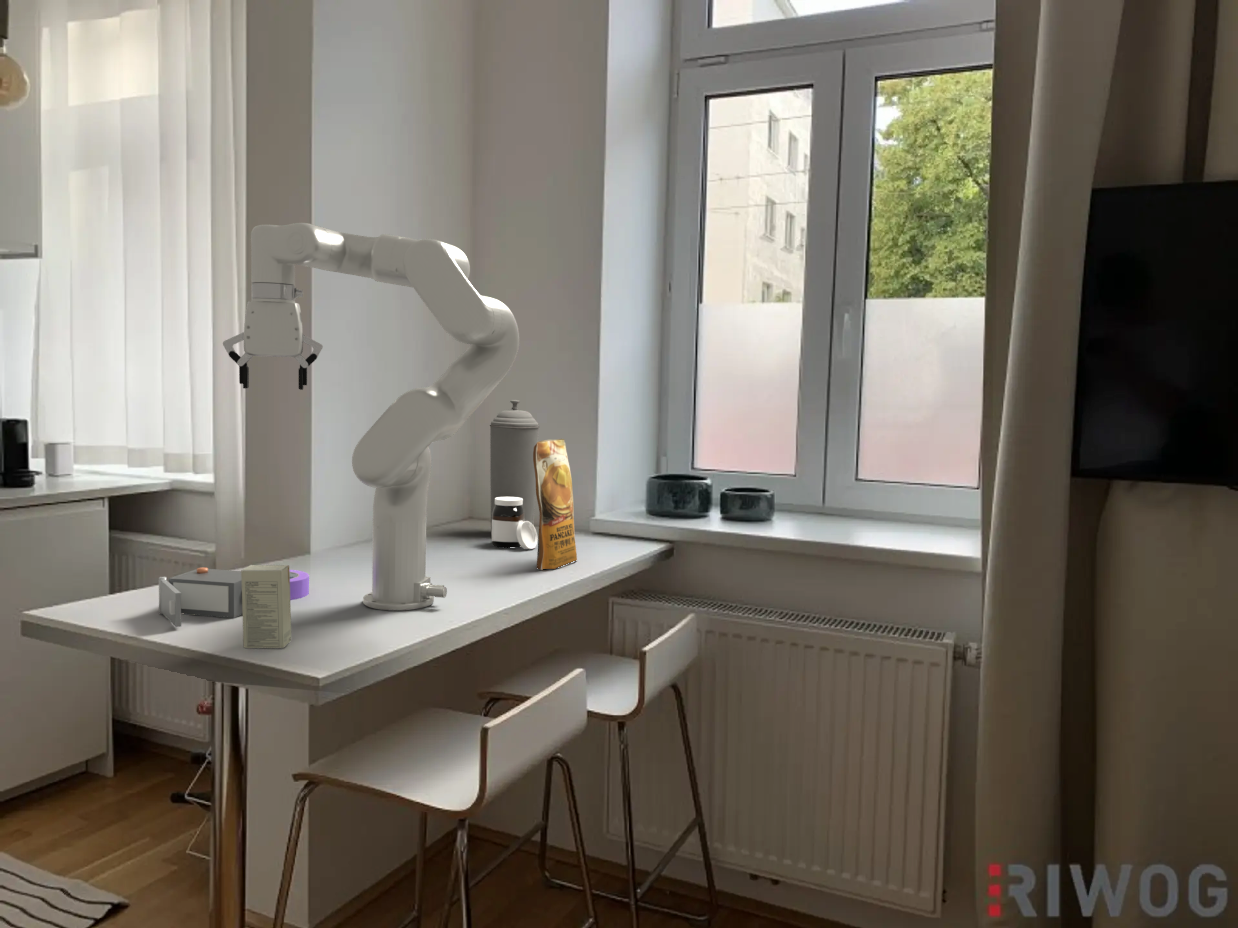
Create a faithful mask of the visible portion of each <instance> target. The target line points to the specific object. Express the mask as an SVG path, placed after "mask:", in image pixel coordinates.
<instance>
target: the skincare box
mask: <svg viewBox="0 0 1238 928" xmlns="http://www.w3.org/2000/svg"><path fill="white" fill-rule="evenodd" d="M290 570H291V569H290V565H289V564H250V565H248V566H246V567H244V568H242V569H240V571H241V580H242V612H243V614H242V636H243V637H242V638H243V639H242V641H243V649H284V648H285V647H286V646H287V645H289V643H291V642H292V617H291V616H292V614H291V610H292V609H291V600H290Z"/></svg>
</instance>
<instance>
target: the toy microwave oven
mask: <svg viewBox="0 0 1238 928" xmlns="http://www.w3.org/2000/svg"><path fill="white" fill-rule="evenodd" d="M168 582H169V583H170V584H171V585H173V586H174V587H175V588H176V589H177V590H178V591H179V592H180V593H181V613H184V614H183V615H188V614H195V615H194V616H200V617H202V616H203V617H213V616H216V617H215V618H229V619H236V618H238V617H240V616H243V612H242V580H241V570H230V569H228V570H227V569H217V568H216V569H215V568H209V567H203V566H202V567H197V568H196V569H192V570H189V571H187V572H184V573H180V574H177V575H174V576H170V577H169V578H168Z"/></svg>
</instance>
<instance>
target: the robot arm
mask: <svg viewBox="0 0 1238 928" xmlns="http://www.w3.org/2000/svg"><path fill="white" fill-rule="evenodd" d="M250 258H251V259H250V265H251V266H250V267H251V268H250V271H251V273H250V274H251V276H250V278H251V281H250V282H251V284H250V285H251V288H250V289H251V290H250V293H251V294H250V295H251V298H250V299H251V300H248V301H247V304H246V307H245V309H246V310H245V316H244V327H243V332H241V333H239V334H237V335H235V336H232V337H230V338H228V339H224V341H223V342H222V346H223V347H224V349H225V350H226V352H227V354H228V357H229V358H230V359H231V360H232V361H234V363H236V364H237V365H238V368H239V370H238V373H239V375H238V377H239V378H238V379H239V380H238V382H239V385H242V388H243V389H249V387H250V368H249V367H250V366H248V362H249V361H250V360H251V359H252V358H253V357H271V358H272V357H273V358H294V359H295V361H297V363H298V364H299V368H298V389H299V390H300V391H301V390H302V391H303V390H304V386H308V367H310V365H312V364H313V363H314V362H315V361H316V360H317V359H318V357H319V355H320V353H321V352H322V350H323V347H324V346H323V344H322V343H319V342H318V341H316V340H314V339H312V338H310V337H309V336H307V335H304V334H303V320H302V319H303V318H302V311H301V306H300V303H297V302H296V300H297V298H304V289H299V288H297V287H296V265H298V266H303V267H307V268H312V269H318V270H322V271H327V272H333V273H340V274H345V275H350V276H357V277H362V278H363V277H364V278H368V279H372V280H373V281H375V282H379V283H384V284H390V285H394V286H395V285H396V286H402V287H406V288H407V287H409V288H413V289H414V291H415V292H416V293H417V295H418V296H419V298H420V299H421V300H422V302H423V304H425V306H426V307H427V309H428V310H429V312H430V313H431V314H432V316H433V317H434V318H435V319H436V321H437V323H438V324H439V325H440V326H441V328H442V329H443V330H444V331H445V332H446V333H447V335H448V336H450V337H451V338H452V339H453V340H455V341H458V342H459V343H461V344H466V345H469V346H468V347H467V349H466V350H465V351H464V352H463V353H461V354H460V355H459V356H457V358H455V359H454V361H452V363H451V364H449V366H448V367H447V368H446V369H445V371H444V372H443V373H442V374H441V375H440V377H439V378H437V379H436V380H435V381H434V382H433V383H432V384H431V385H430V386H426V387H416V388H413V389H410V390H408V391H406V392H404V393H402V394H401V395H399V397H398V398H396V399H395V400H394V401H393V402H392V403H391V404H390V405H389V407H388V408H387V409H386V410H385V411H384V412H383V413H382V414H381V415H380V417H379V418H378V419H377V420H376V421H375V422H374V423H373V424H372V426H370V427H369V428H368V430H367V431H366V432H365V433H364V435H362V437H361V438H360V439H359V441H358V442H357V444H356V446H355V447H354V449H353V452H352V457H351V467H352V470H353V472H354V473H353V474H354V475H355V476H356V478H357V479H358V480H359V481H360V482H361V483H362V484H363V485H366V486H367V487H370V488H374V489H375V490H374V495H373V506H372V507H373V508H372V557H371V559H372V560H371V561H372V565H371V566H372V567H371V568H372V569H371V571H372V573H371V574H372V577H371V592H369V593H366V594H365V595H364V596H363V598H362V602H363V605H365V606H366V607H368V608H371V609H375V610H382V611H383V610H384V611H409V610H410V611H411V610H417V609H423V608H425V607H429V606H431V605H432V604H434V602H435V599H434V598H443V599H445V598H446V597H447V593H448V590H447V589H448V588H447V587H446V586H445V585H444V584H443V585H442V584H441V585H440V584H433V583H432V582H431V577H430V576H426V562H427V561H426V560H427V558H426V557H427V556H426V555H427V517H428V512H427V511H428V510H427V509H428V493H429V486H430V485H429V484H430V479H431V478H430V477H431V471H432V461H433V459H432V452H431V449H430V447H429V446H430V445H431V444H433V443H435V442H439V441H441V442H442V441H445V440H447V439H449V438H452V437H453V436H454V435H455V434H456V433H457V432H458V431H459V430H460V429H461V428H462V426H463V425H464V424H465V423H466V421H467V420H468V419H469V418H470V417H471V416H472V415H473V414H474V412H476V410H477V409H478V408H479V407H480V406H481V405H482V404H483V402H484V401H485V400H486V398H488V396H489V395H490V394H491V393H492V392H493V391H494V390H495V388H496V387H497V386H498V385H499V384H500V383H501V382H502V380H503V379H504V378H505V376H507V374H508V373H509V372H510V370H511V368H512V366H513V365H514V362H515V361H516V358H517V356H518V352H519V348H520V332H519V331H520V330H519V327H518V326H519V325H518V323H517V320H516V317H515V316H514V313H513V312H512V311H511V309H510V308H509V306H507V305H506V304H505V303H503V302H502V301H500V300H499V299H497V298H494V297H490V296H487V295H481V294H480V293H479V292H478V291H477V290H476V288H475V287H474V286H473V285H472V283H471V282H470V281H469V277H470V274H471V266H470V265H471V264H470V261H469V259H468V257H467V255H466V253H465V252H464V251H463V250H461V248H459V247H457V246H455V245H453V244H450V243H446V242H444V241H441V240H438V239H434V238H425V239H424V238H423V239H419V238H417V239H416V238H411V237H404V236H400V235H399V236H398V235H394V234H390V233H389V234H388V233H382V234H380V235H379V236H376V237H375V236H367V235H366V236H365V235H359V234H353V233H348V232H342V231H338V230H333V229H329V228H325V227H322V226H320V225H316V224H312V223H307V222H296V223H290V224H285V225H276V224H259V225H256V226H254V227H253V228H252V230H251V232H250ZM240 342H243V352H244V354H242V356H241V355H239V354H238V353H237V352H236V351H235V348H234V346H235V345H236V344H239V343H240ZM304 344H306V345H308V346H310V347H311V348H313V349H312V351H311V354H310V355H309V356H307V358H305V357H304V356H303V351H304Z"/></svg>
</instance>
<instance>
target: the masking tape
mask: <svg viewBox="0 0 1238 928" xmlns="http://www.w3.org/2000/svg"><path fill="white" fill-rule="evenodd" d="M289 570H290V601H293V600H299V599H302V598H305V597H307V596H308V595H310V574H309V573H308V572H305V571H303V570H297V569H296V570H295V569H289Z"/></svg>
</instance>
